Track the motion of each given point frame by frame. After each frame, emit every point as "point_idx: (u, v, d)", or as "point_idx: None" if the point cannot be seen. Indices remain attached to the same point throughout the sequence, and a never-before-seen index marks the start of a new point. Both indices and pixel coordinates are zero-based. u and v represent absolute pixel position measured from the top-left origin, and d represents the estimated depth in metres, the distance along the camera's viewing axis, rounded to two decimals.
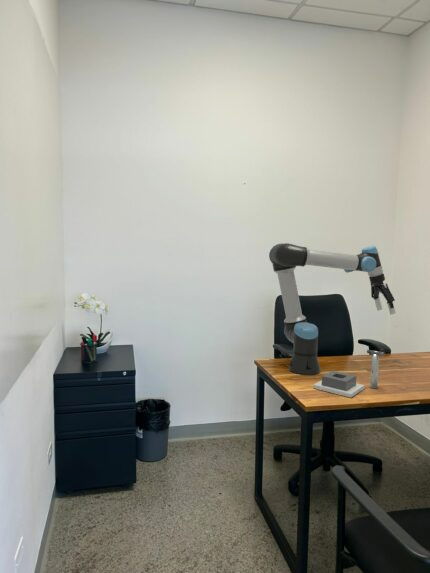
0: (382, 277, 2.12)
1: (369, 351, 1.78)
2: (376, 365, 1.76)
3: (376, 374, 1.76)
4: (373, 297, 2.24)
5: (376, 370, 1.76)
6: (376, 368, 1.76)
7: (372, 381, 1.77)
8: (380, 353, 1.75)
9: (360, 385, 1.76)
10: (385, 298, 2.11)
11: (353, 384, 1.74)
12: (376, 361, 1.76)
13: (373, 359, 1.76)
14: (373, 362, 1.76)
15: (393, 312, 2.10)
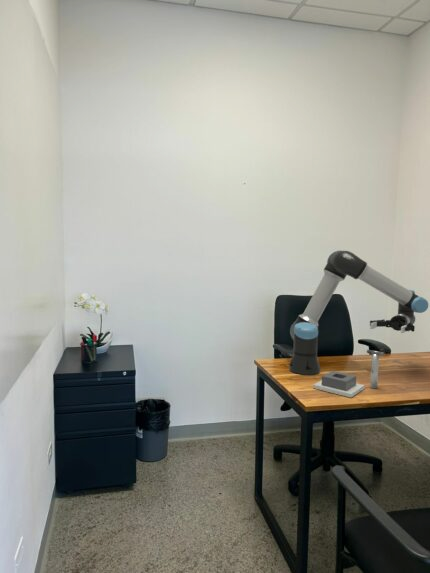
0: None
1: (369, 351, 1.78)
2: (376, 365, 1.76)
3: (376, 374, 1.76)
4: (374, 321, 1.96)
5: (376, 370, 1.76)
6: (376, 368, 1.76)
7: (372, 381, 1.77)
8: (380, 353, 1.75)
9: (360, 385, 1.76)
10: (404, 324, 1.88)
11: (353, 384, 1.74)
12: (376, 361, 1.76)
13: (373, 359, 1.76)
14: (373, 362, 1.76)
15: (403, 330, 1.81)
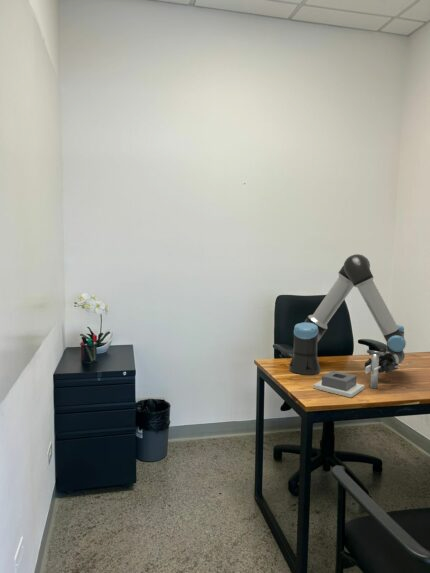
0: None
1: (369, 351, 1.78)
2: (376, 365, 1.76)
3: None
4: (369, 363, 1.81)
5: None
6: None
7: (372, 381, 1.77)
8: (380, 353, 1.75)
9: (360, 385, 1.76)
10: (382, 365, 1.79)
11: (353, 384, 1.74)
12: (376, 361, 1.76)
13: (373, 359, 1.76)
14: (373, 362, 1.76)
15: (376, 372, 1.72)
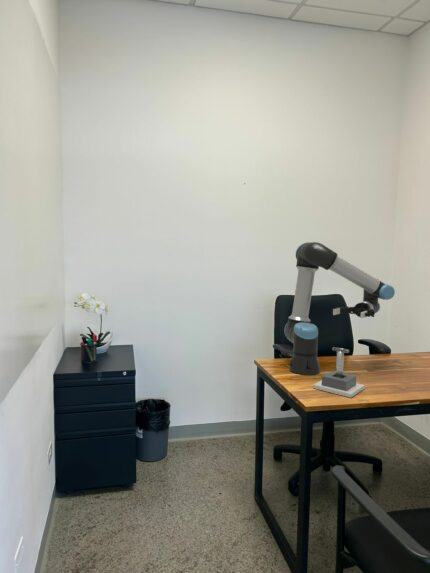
0: None
1: (334, 348, 1.75)
2: (341, 363, 1.73)
3: (341, 371, 1.74)
4: None
5: (341, 367, 1.74)
6: (341, 365, 1.74)
7: None
8: (345, 350, 1.72)
9: (360, 385, 1.76)
10: (365, 310, 1.96)
11: (353, 384, 1.74)
12: (341, 358, 1.73)
13: (338, 356, 1.74)
14: (338, 359, 1.74)
15: (362, 315, 1.89)
